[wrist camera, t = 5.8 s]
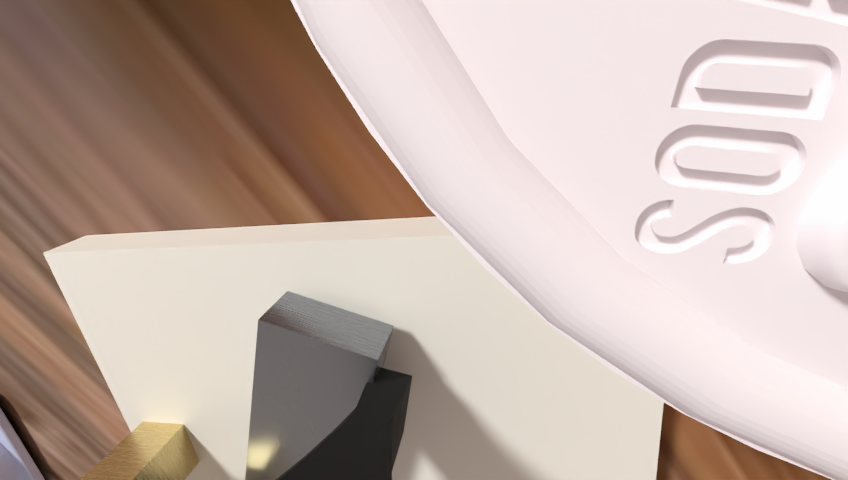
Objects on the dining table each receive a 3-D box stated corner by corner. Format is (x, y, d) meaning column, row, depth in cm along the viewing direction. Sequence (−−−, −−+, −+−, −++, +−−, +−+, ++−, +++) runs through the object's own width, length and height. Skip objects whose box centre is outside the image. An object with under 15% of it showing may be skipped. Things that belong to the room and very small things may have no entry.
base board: (223, 543, 20) (199, 582, 19) (87, 235, 15) (36, 255, 13) (628, 603, 16) (639, 660, 15) (660, 204, 10) (685, 228, 9)
